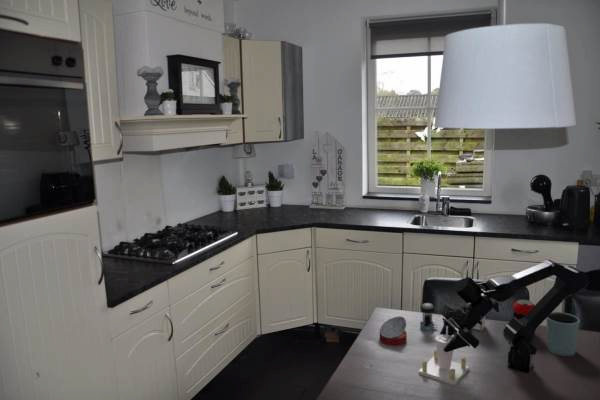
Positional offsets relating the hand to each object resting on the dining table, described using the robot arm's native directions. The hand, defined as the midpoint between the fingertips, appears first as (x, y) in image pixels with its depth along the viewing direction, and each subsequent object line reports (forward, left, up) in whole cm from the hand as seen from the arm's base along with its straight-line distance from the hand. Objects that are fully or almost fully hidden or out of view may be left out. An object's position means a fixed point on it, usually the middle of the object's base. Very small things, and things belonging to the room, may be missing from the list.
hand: (440, 346), depth 160 cm
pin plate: (-1, -1, -9) cm, 9 cm away
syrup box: (+2, -40, -9) cm, 41 cm away
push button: (+16, -28, -9) cm, 33 cm away
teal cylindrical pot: (-28, -38, -9) cm, 48 cm away
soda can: (-14, -45, -9) cm, 48 cm away
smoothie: (-1, -1, -7) cm, 7 cm away
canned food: (+23, -12, -9) cm, 27 cm away
